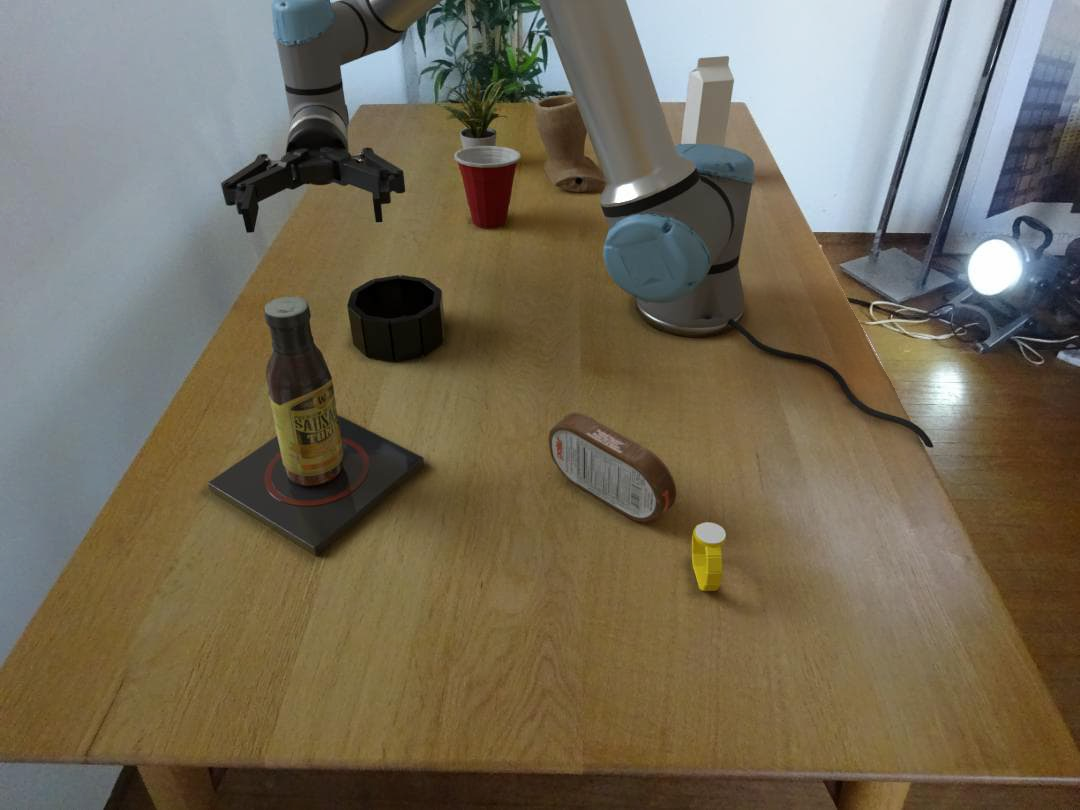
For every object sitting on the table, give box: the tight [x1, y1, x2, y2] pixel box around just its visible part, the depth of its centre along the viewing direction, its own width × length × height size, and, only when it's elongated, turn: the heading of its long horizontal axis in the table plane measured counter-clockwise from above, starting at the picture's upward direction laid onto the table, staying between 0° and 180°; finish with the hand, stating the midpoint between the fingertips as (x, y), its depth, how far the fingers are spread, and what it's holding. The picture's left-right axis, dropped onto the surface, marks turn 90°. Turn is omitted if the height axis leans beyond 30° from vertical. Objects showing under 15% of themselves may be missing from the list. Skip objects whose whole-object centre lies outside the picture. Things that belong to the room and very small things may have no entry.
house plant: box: [436, 76, 508, 149], centre depth 155 cm, size 14×14×16 cm
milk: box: [680, 55, 735, 147], centre depth 147 cm, size 6×6×22 cm
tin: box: [548, 412, 677, 523], centre depth 82 cm, size 15×3×8 cm, turn 48°
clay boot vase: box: [534, 93, 606, 193], centre depth 148 cm, size 15×12×15 cm
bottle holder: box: [346, 274, 446, 363], centre depth 108 cm, size 12×12×6 cm
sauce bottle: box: [263, 296, 343, 486], centre depth 80 cm, size 7×6×20 cm
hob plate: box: [207, 414, 425, 557], centre depth 87 cm, size 16×16×1 cm
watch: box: [691, 521, 727, 592], centre depth 75 cm, size 6×3×6 cm, turn 3°
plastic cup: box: [454, 145, 521, 230], centre depth 135 cm, size 11×11×12 cm
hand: (313, 215), depth 86 cm, fingers open, 13 cm apart
